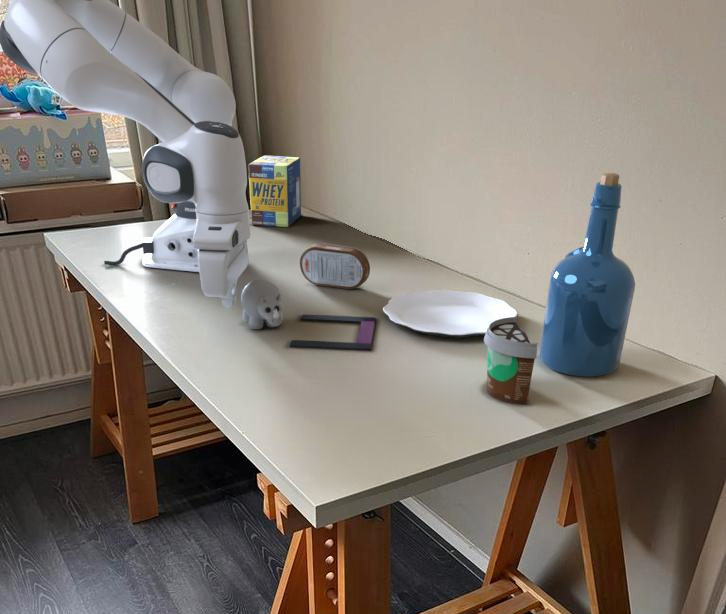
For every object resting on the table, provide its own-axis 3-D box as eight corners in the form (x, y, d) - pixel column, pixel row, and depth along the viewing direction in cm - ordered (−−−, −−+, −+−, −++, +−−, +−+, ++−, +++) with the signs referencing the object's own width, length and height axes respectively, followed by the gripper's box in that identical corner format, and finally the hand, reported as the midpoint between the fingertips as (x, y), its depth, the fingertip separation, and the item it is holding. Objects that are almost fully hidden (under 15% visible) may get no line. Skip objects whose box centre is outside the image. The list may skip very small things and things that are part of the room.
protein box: (251, 225, 209) (247, 163, 201) (266, 212, 222) (263, 154, 214) (288, 227, 208) (287, 165, 200) (302, 215, 221) (300, 156, 213)
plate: (442, 291, 163) (442, 282, 162) (542, 321, 148) (543, 312, 147) (356, 317, 148) (356, 308, 147) (458, 355, 132) (459, 344, 132)
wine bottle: (630, 379, 125) (672, 182, 109) (550, 380, 124) (581, 182, 108) (601, 347, 137) (636, 166, 121) (527, 348, 136) (553, 165, 120)
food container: (471, 376, 125) (477, 316, 120) (509, 375, 125) (516, 315, 120) (488, 409, 114) (495, 345, 109) (529, 408, 115) (538, 344, 110)
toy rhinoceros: (256, 343, 135) (254, 295, 131) (238, 321, 145) (235, 276, 140) (295, 338, 138) (294, 291, 133) (275, 316, 147) (273, 272, 143)
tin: (370, 288, 163) (371, 247, 159) (365, 292, 161) (366, 251, 157) (304, 280, 168) (303, 240, 163) (298, 284, 165) (297, 244, 161)
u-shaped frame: (289, 347, 134) (289, 344, 134) (302, 316, 148) (302, 314, 148) (370, 350, 133) (370, 348, 133) (375, 319, 147) (375, 317, 147)
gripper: (219, 213, 141) (225, 287, 148) (189, 241, 124) (197, 324, 131) (254, 214, 141) (258, 289, 148) (228, 242, 123) (234, 326, 131)
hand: (229, 306), depth 139 cm, fingers closed
